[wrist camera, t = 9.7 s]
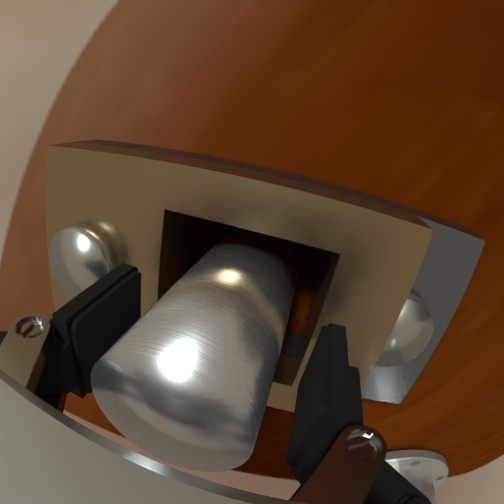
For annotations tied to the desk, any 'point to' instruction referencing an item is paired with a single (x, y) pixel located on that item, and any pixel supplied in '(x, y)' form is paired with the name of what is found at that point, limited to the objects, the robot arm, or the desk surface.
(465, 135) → the desk surface
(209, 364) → the steel pin
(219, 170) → the square hole plate
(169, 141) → the desk surface
